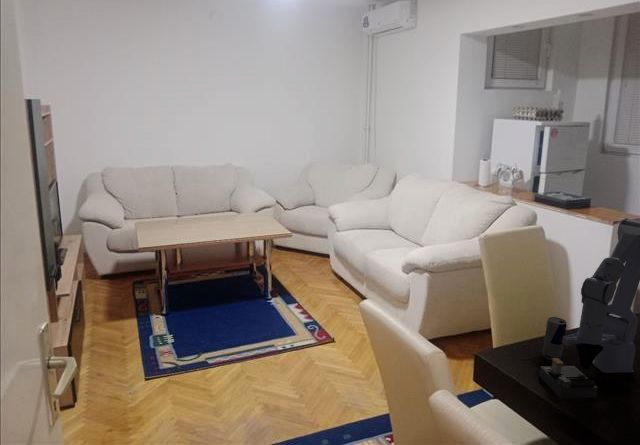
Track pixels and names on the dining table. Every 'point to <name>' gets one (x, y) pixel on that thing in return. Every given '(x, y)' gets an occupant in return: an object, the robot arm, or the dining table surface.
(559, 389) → the breaker box
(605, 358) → the robot arm
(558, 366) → the breaker toggle
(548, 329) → the energy drink
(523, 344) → the dining table surface
